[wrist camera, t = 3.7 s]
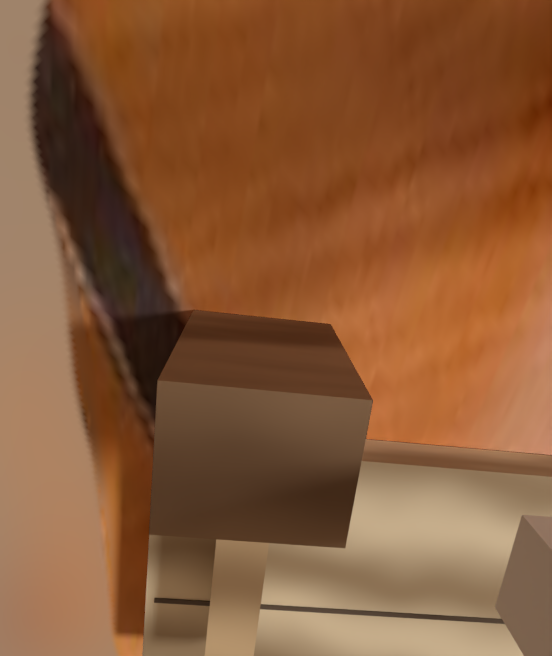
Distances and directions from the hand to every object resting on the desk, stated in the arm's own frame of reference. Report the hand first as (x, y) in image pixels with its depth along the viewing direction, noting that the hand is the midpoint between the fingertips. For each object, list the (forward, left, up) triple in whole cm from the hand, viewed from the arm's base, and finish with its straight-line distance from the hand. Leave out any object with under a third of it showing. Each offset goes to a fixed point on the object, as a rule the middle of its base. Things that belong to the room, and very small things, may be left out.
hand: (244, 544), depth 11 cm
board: (+9, +10, -11) cm, 17 cm away
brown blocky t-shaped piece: (+5, 0, -11) cm, 12 cm away
